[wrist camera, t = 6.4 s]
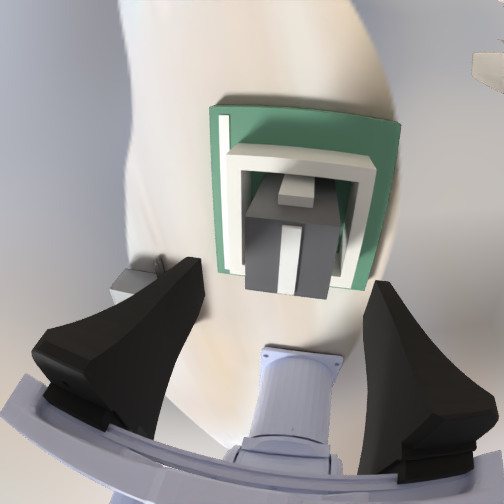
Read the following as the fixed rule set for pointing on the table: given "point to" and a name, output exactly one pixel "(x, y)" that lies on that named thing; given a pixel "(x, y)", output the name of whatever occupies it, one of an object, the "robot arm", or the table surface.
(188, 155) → the table surface
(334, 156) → the board
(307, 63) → the table surface
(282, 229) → the plug
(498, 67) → the cable organizer
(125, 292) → the gray button box
